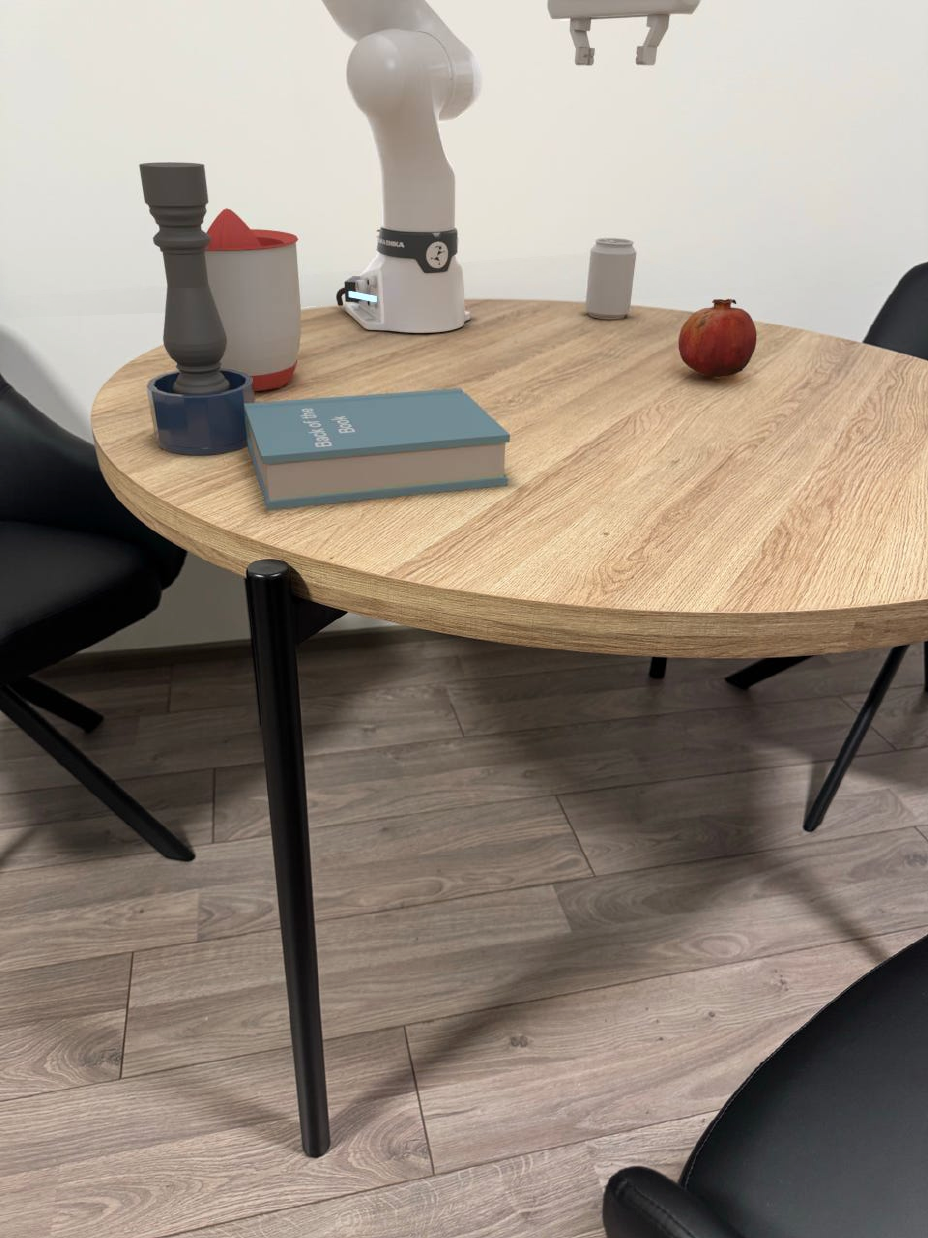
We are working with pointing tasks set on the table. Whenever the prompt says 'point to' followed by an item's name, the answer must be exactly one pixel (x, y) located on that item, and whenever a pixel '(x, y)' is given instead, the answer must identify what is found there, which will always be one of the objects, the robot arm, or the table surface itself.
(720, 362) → the fruit
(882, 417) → the table surface
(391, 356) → the table surface
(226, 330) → the citrus juicer
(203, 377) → the candle holder
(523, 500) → the table surface
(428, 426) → the book
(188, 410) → the socket cup
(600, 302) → the can
